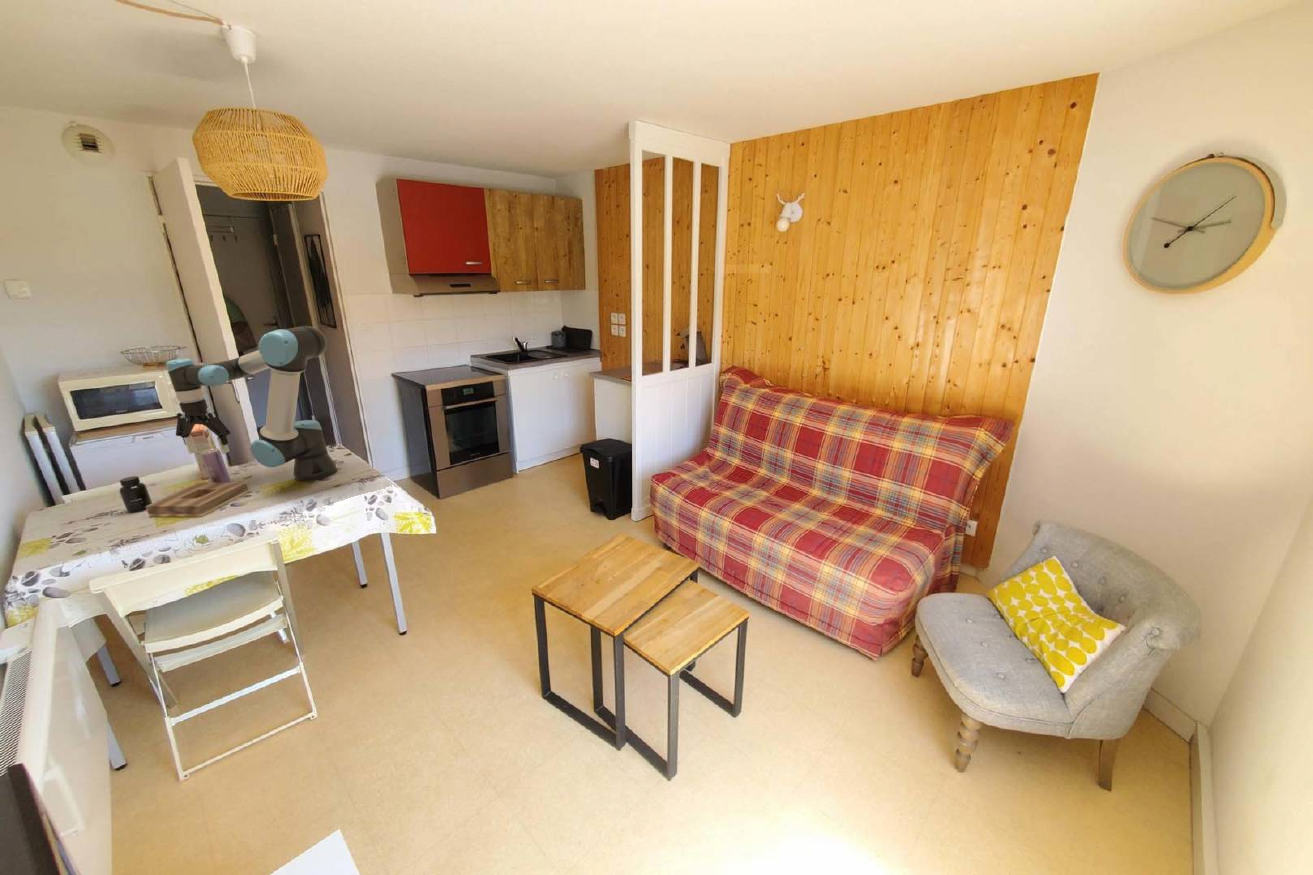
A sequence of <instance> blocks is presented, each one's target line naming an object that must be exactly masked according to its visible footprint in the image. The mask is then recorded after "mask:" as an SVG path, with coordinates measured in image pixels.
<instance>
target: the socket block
mask: <svg viewBox="0 0 1313 875" xmlns="http://www.w3.org/2000/svg"><path fill="white" fill-rule="evenodd" d="M248 493H250V490H249V487H248V484H247V482H245V481H244V482H242V481H241V482H231V483H210V482H196V483H194V484H192V485H189V486H188V487H186V488H182V489H180V490H179V491H176V492H175V493H172V494H170V495H168V496H165V497H163V498H161V499H159V500H156V501H154V502H152V504H150V505H147V506H145V507H146V511H147V514H148V516H149V517H151V518H152V517H163V518H164V517H179V518H180V517H185V518H186V517H192V518H193V517H198V518H199V517H204V516H207V515H208V514H210V513H212V512H214V511H216V510H218V509H220V508H221V507H224V506H225V505H228V504H230V503H231V502H233V501H235V500H237V499H239V498H241V497H243V496H244V495H246V494H248Z"/></svg>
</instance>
